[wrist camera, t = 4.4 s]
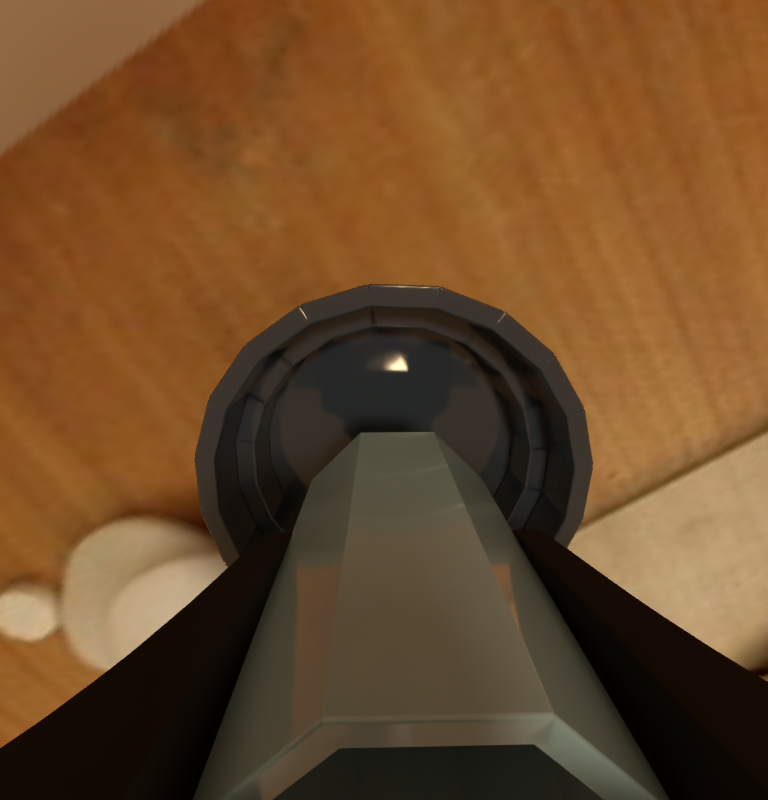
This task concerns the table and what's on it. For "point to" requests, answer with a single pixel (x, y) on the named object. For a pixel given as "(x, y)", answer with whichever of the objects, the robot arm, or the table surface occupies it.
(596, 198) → the table surface
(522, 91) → the table surface
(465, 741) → the cup
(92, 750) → the robot arm
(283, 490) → the bowl
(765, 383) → the table surface
